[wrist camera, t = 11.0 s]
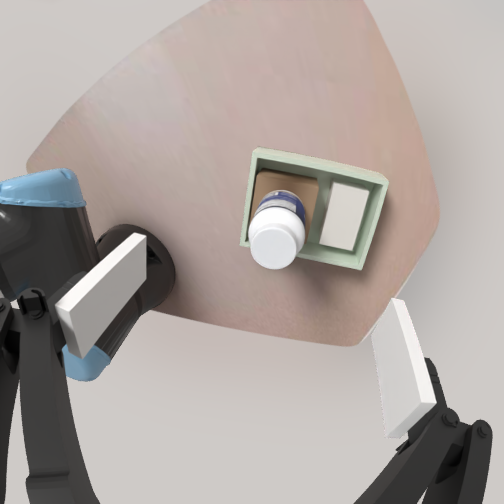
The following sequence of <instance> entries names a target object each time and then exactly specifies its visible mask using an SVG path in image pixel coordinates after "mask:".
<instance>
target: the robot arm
mask: <svg viewBox="0 0 504 504" xmlns="http://www.w3.org/2000/svg"><path fill="white" fill-rule="evenodd" d="M85 206H86V201H85V200H83V196H82V193H81V189H80V186H79V182H78V179H77V176H76V175H75V173H74V172H73V171H71V170H70V169H67V168H59V169H52V170H46V171H41V172H37V173H32V174H27V175H23V176H19V177H16V178H12V179H8V180H5V181H2V182H0V504H4V501H5V494H6V473H7V457H8V446H9V437H10V429H11V421H12V415H13V409H14V404H15V398H16V393H17V389H18V383H19V379H20V402H21V415H22V426H23V434H24V442H25V448H26V455H27V461H28V465H29V473H30V474H29V476H28V477H27V478H26V489H27V494H28V498H29V501H30V504H100V502H99V500H98V499H97V497H96V495H95V493H94V491H93V489H92V486H91V483H90V480H89V477H88V473H87V470H86V467H85V463H84V460H83V456H82V453H81V449H80V445H79V441H78V437H77V433H76V429H75V424H74V420H73V415H72V410H71V404H70V399H69V393H68V386H67V380H66V376H67V377H70V378H72V379H75V380H78V381H92V380H94V379H96V378H97V377H98V376H99V375H100V374H101V372H102V371H103V370H104V368H105V367H106V366H107V365H109V364H110V362H111V360H112V358H113V357H114V355H115V354H116V352H117V350H118V349H119V347H120V346H121V344H122V343H123V341H124V340H125V338H126V337H127V335H128V333H129V332H130V330H131V329H132V327H133V326H134V324H135V323H136V321H137V320H138V319H139V317H140V316H141V315H143V314H144V313H146V312H147V311H149V310H150V309H152V308H154V307H156V306H158V305H160V304H161V303H162V302H163V301H164V300H165V299H166V297H167V296H168V294H169V293H170V291H171V290H172V288H173V285H174V281H175V270H174V265H173V262H172V259H171V257H170V255H169V253H168V251H167V250H166V248H165V247H164V245H163V244H162V243H161V242H160V241H159V240H158V239H157V238H156V237H155V236H154V235H152V234H151V233H150V232H148V231H146V230H145V229H143V228H140V227H138V226H134V225H128V224H123V225H117V226H114V227H112V228H111V229H109V230H108V231H107V232H105V233H104V234H103V235H102V236H101V237H100V238H99V239H98V240H97V242H96V244H95V240H94V237H93V233H92V230H91V226H90V223H89V219H88V215H87V211H86V207H85ZM16 299H17V302H18V305H19V308H20V309H15V308H12V306H11V303H10V302H12V301H14V300H16ZM371 338H372V344H373V350H374V355H375V361H376V367H377V374H378V381H379V387H380V395H381V402H382V410H383V420H384V429H385V438H401V437H402V436H403V435H404V434H405V433H406V432H408V437H409V439H408V440H406V441H405V442H404V443H403V444H402V445H400V446H399V447H398V448H397V449H396V451H398V452H397V453H396V454H395V456H394V457H393V458H392V460H391V461H390V462H389V463H388V465H387V466H386V467H385V468H384V470H383V471H382V472H381V473H380V475H379V476H378V477H377V478H376V479H375V481H374V482H373V483H372V484H371V485H370V486H369V488H368V489H367V490H366V491H365V492H364V493H363V494H362V495H361V496H360V497H359V498H358V499H357V500H356V502H355V503H354V504H417V502H418V501H419V499H420V498H421V496H422V495H423V493H424V492H425V490H426V489H427V490H426V493H425V496H424V499H423V502H422V504H482V501H483V497H484V492H485V487H486V482H487V476H488V470H489V463H490V455H491V447H492V429H491V427H490V425H489V424H488V423H487V422H485V421H484V420H477V421H476V422H474V424H472V425H468V424H465V423H462V422H460V420H459V417H458V415H457V414H456V412H455V411H454V410H452V409H450V408H447V405H446V401H445V397H444V394H443V390H442V387H441V384H440V380H439V377H438V374H437V371H436V367H435V366H434V364H433V363H432V361H431V360H430V359H429V358H424V357H423V354H422V351H421V347H420V344H419V342H418V338H417V336H416V333H415V330H414V327H413V324H412V321H411V319H410V316H409V313H408V310H407V308H406V305H405V303H404V300H399V299H395V298H391V300H390V302H389V304H388V306H387V308H386V310H385V311H384V313H383V315H382V317H381V319H380V321H379V323H378V324H377V326H376V328H375V330H374V332H373V334H372V335H371ZM427 487H428V488H427Z"/></svg>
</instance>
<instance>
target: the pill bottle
mask: <svg viewBox="0 0 504 504" xmlns="http://www.w3.org/2000/svg"><path fill="white" fill-rule="evenodd" d="M248 237H249V242H250V245H251V253H252V256H253V258H254V259H255V261H256V262H257V263H258V264H260V265H261V266H263V267H265V268H268V269H281V268H284V267H286V266H288V265H289V264H290V263H291V262H292V261H293V260H294V258H295V256H296V255H297V254H298V253H299V251H300V250H301V248H302V247H303V244H304V240H305V209H304V205H303V203H302V201H301V200H300V199H299V197H297V196H296V195H295V194H293V193H291V192H289V191H285V190H276V191H273V192H270V193H268V194H267V195H266V196H265V197H264V198H263V199H262V200H261V202H260V204H259V206H258V208H257V210H256V212H255V214H254V217H253V219H252V221H251V224H250V226H249V231H248Z"/></svg>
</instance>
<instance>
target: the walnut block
mask: <svg viewBox="0 0 504 504" xmlns="http://www.w3.org/2000/svg"><path fill="white" fill-rule="evenodd" d="M276 190H285V191H289V192H291V193H293V194H295V195H296V196H297V197H299V199H300V200H301V201H302V203H303V205H304V209H305V240H304V244H306V243H307V238H308V234H309V230H310V226H311V222H312V217H313V213H314V209H315V204H316V200H317V195H318V191H319V185H318V179H317V178H314V177H309V176H305V175H300V174H295V173H290V172H285V171H279V170H274V169H268V168H262V169H261V171H260V172H259V174H258V175H257V178H256V185H255V191H254V198H253V205H252V211H251V218H250V224H251V221H252V219H253V217H254V214H255V212H256V210H257V208H258V206H259V204H260V202H261V200H262V199H263V198H264V197H265V196H266V195H267V194H268V193H270V192H273V191H276ZM249 226H250V225H249Z"/></svg>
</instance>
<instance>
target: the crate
mask: <svg viewBox="0 0 504 504" xmlns="http://www.w3.org/2000/svg"><path fill="white" fill-rule="evenodd" d="M262 168H268V169H274V170H279V171H285V172H290V173H295V174H300V175H305V176H309V177H314V178H317V179H318V185H319V191H318V195H317V200H316V204H315V209H314V213H313V217H312V222H311V226H310V230H309V234H308V238H307V243H306V244H303V247H302V248H301V250H300V251H299V253H298V254H297V255H296V256H295V257H299V258H304V259H309V260H314V261H319V262H324V263H328V264H333V265H338V266H343V267H348V268H353V269H358V270H362V267H363V264H364V262H365V259H366V256H367V253H368V250H369V247H370V244H371V241H372V238H373V235H374V232H375V228H376V225H377V222H378V219H379V215H380V212H381V209H382V205H383V202H384V198H385V195H386V191H387V188H388V184H389V181H388V180H387V179H386V178H385V177H384V176H383V175H382V174H381V173H378V172H374V171H371V170H367V169H363V168H359V167H355V166H351V165H347V164H343V163H339V162H334V161H330V160H325V159H321V158H316V157H312V156H307V155H302V154H297V153H292V152H286V151H281V150H275V149H270V148H264V147H257V148H256V149H255V150H254V151H253V153H252V160H251V167H250V174H249V181H248V188H247V195H246V202H245V209H244V217H243V224H242V231H241V239H240V246H245V247H250V248H251V245H250V242H249V237H248V231H249V225H250V218H251V211H252V205H253V198H254V191H255V185H256V178H257V175H258V174H259V172H260V171H261V169H262ZM332 178H336V179H341V180H345V181H349V182H353V183H357V184H361V185H365V186H366V188H367V189H368V191H369V195H368V198H367V202H366V206H365V209H364V213H363V216H362V220H361V223H360V227H359V230H358V233H357V237H356V240H355V243H354V246H353V249H352V251H351V250H346V249H341V248H337V247H332V246H327V245H323V244H319V235H318V234H319V230H320V226H321V222H322V218H323V214H324V210H325V205H326V201H327V197H328V193H329V188H330V184H331V179H332Z"/></svg>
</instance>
